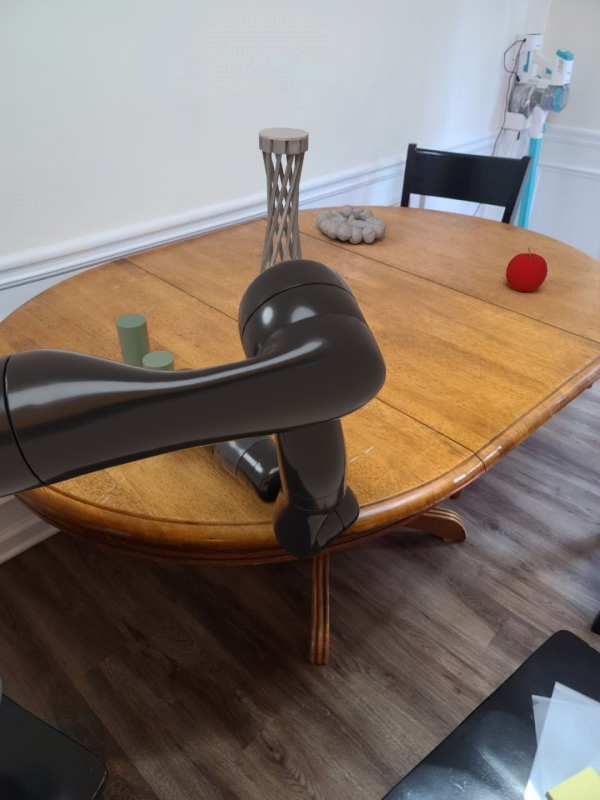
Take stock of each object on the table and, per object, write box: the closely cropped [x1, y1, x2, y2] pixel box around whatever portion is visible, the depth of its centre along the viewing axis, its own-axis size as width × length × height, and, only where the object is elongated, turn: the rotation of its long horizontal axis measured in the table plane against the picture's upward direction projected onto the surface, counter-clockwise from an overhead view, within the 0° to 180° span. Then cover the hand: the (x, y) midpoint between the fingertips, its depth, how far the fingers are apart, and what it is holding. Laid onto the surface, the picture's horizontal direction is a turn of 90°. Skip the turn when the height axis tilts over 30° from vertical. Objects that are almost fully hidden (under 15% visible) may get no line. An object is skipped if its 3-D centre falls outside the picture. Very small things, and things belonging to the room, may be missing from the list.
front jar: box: [142, 350, 177, 371], centre depth 93 cm, size 5×5×9 cm
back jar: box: [115, 313, 152, 367], centre depth 98 cm, size 5×5×12 cm
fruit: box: [505, 247, 549, 293], centre depth 135 cm, size 9×9×10 cm
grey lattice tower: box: [258, 127, 310, 274], centre depth 120 cm, size 14×13×35 cm
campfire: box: [315, 204, 387, 245], centre depth 164 cm, size 22×21×6 cm
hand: (180, 389), depth 87 cm, fingers open, 8 cm apart
